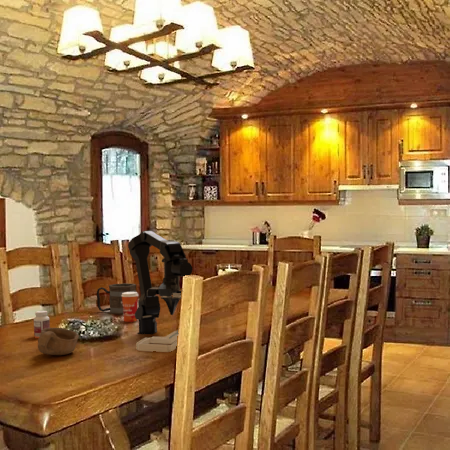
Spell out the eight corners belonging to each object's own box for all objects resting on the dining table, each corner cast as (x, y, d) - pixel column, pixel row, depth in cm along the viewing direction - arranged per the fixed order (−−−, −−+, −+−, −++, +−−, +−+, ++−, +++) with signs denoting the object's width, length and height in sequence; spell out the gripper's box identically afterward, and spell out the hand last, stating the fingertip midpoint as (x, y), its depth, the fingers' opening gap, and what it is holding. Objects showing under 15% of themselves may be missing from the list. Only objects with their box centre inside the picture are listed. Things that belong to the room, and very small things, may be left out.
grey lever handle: (165, 336, 236) (178, 327, 235) (174, 331, 246) (187, 322, 244) (170, 343, 236) (183, 334, 234) (178, 338, 245) (191, 329, 244)
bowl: (69, 362, 223) (68, 333, 222) (28, 362, 224) (27, 333, 223) (83, 350, 241) (82, 323, 240) (45, 351, 241) (44, 324, 241)
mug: (139, 313, 323) (139, 283, 322) (134, 318, 309) (133, 286, 309) (100, 313, 324) (100, 283, 324) (93, 318, 311) (92, 287, 310)
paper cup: (118, 324, 293) (117, 293, 292) (127, 321, 300) (126, 291, 299) (133, 325, 290) (133, 294, 289) (142, 322, 297) (141, 291, 296)
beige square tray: (134, 351, 237) (134, 343, 237) (148, 343, 250) (147, 336, 250) (170, 353, 234) (170, 345, 234) (182, 345, 247) (182, 337, 247)
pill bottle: (49, 336, 269) (48, 309, 268) (50, 339, 263) (50, 312, 262) (33, 337, 266) (32, 310, 266) (34, 340, 261) (34, 313, 260)
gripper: (140, 276, 247) (141, 317, 247) (187, 278, 242) (187, 319, 242) (152, 273, 257) (152, 312, 258) (197, 274, 252) (197, 314, 253)
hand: (171, 314), depth 253 cm, fingers closed
